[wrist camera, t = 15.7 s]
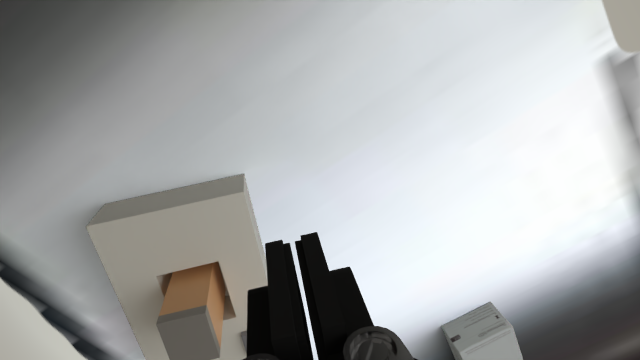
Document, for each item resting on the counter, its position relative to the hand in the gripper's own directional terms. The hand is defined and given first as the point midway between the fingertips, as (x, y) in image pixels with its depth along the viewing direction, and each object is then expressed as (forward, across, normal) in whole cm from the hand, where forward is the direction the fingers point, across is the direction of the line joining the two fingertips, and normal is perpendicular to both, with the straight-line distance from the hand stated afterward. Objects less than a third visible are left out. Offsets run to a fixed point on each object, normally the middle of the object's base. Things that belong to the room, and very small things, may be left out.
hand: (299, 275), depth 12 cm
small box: (+27, -22, +37) cm, 50 cm away
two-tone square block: (+26, +11, +17) cm, 32 cm away
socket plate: (+27, +11, +17) cm, 33 cm away
